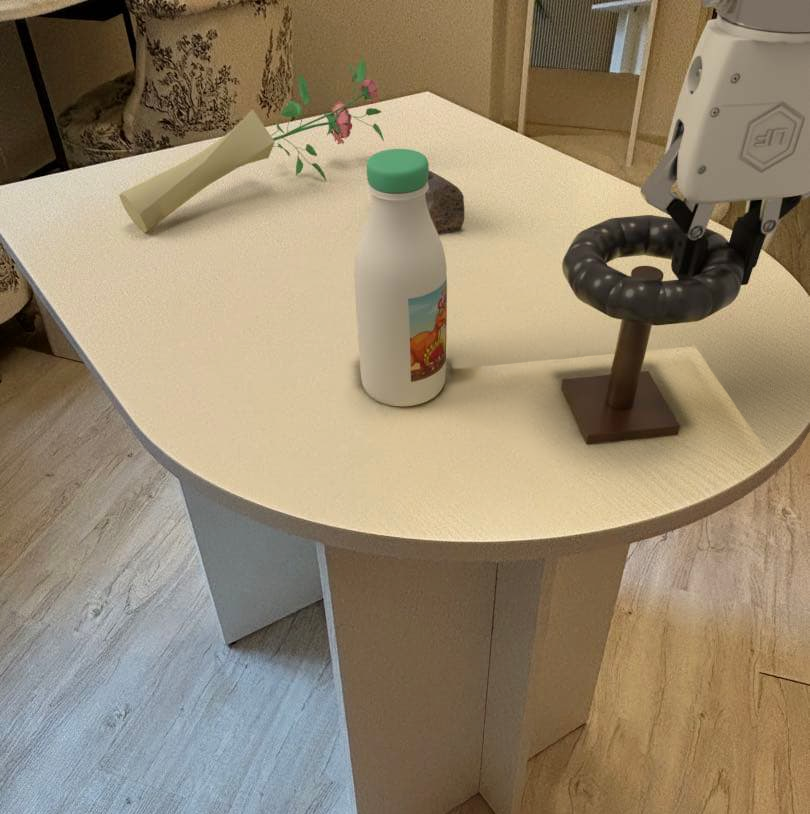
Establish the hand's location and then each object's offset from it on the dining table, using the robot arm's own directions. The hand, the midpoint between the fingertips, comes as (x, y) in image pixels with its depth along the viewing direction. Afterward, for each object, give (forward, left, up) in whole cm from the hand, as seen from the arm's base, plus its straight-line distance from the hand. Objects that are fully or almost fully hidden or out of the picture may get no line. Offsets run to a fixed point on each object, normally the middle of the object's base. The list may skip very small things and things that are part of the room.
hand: (709, 276), depth 61 cm
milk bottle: (+23, -7, -12) cm, 27 cm away
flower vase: (+36, -51, -12) cm, 63 cm away
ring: (+5, 0, +1) cm, 5 cm away
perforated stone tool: (+18, -38, -12) cm, 44 cm away
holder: (+5, 0, -12) cm, 13 cm away
